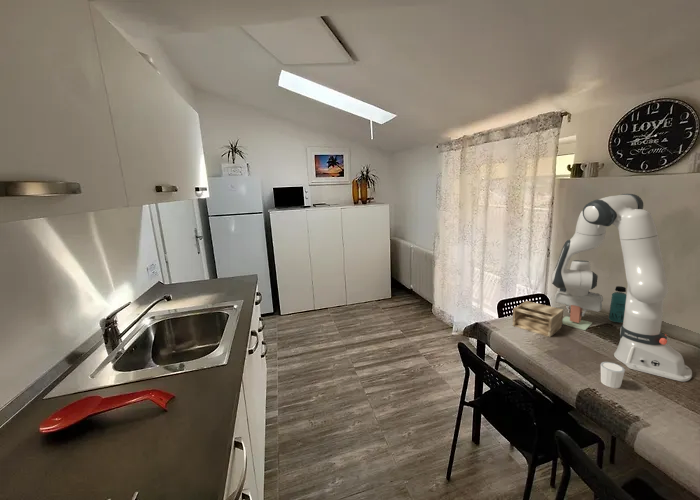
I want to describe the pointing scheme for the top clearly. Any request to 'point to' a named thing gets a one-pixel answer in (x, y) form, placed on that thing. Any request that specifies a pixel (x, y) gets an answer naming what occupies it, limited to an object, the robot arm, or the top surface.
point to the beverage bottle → (618, 305)
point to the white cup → (612, 374)
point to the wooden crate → (538, 318)
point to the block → (575, 313)
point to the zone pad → (580, 325)
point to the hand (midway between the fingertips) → (576, 314)
